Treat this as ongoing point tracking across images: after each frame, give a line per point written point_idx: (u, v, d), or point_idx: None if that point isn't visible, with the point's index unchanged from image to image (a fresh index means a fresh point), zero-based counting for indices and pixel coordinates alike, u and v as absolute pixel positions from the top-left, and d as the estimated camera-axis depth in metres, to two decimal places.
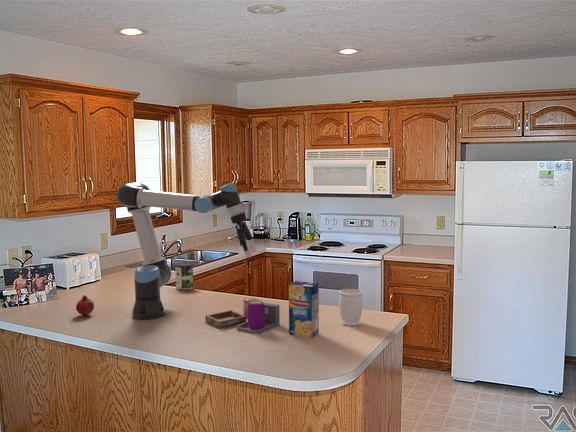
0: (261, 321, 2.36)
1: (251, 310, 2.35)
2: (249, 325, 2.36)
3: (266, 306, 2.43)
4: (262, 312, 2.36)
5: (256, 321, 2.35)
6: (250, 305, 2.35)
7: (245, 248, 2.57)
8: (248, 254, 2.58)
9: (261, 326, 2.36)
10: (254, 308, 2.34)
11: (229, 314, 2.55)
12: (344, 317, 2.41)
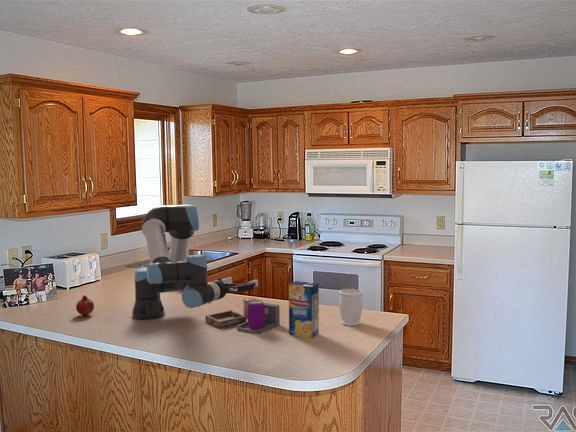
0: (261, 321, 2.36)
1: (251, 310, 2.35)
2: (249, 325, 2.36)
3: (266, 306, 2.43)
4: (262, 312, 2.36)
5: (256, 321, 2.35)
6: (250, 305, 2.35)
7: None
8: None
9: (261, 326, 2.36)
10: (254, 308, 2.34)
11: (229, 314, 2.55)
12: (344, 317, 2.41)
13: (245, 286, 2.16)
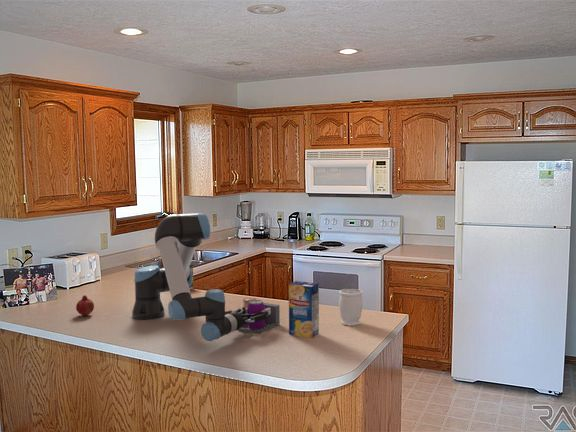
0: (261, 321, 2.36)
1: (251, 310, 2.35)
2: (249, 325, 2.36)
3: (266, 306, 2.43)
4: None
5: None
6: (250, 305, 2.35)
7: None
8: None
9: (261, 326, 2.36)
10: (254, 308, 2.34)
11: None
12: (344, 317, 2.41)
13: (260, 316, 2.29)
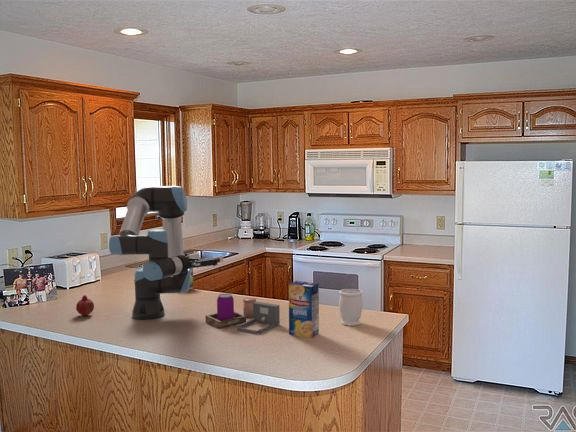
0: (230, 314, 2.45)
1: (220, 303, 2.43)
2: (218, 318, 2.45)
3: (266, 306, 2.43)
4: (231, 305, 2.45)
5: (225, 314, 2.44)
6: (219, 298, 2.44)
7: None
8: None
9: None
10: (223, 301, 2.43)
11: None
12: (344, 317, 2.41)
13: (208, 261, 2.23)
